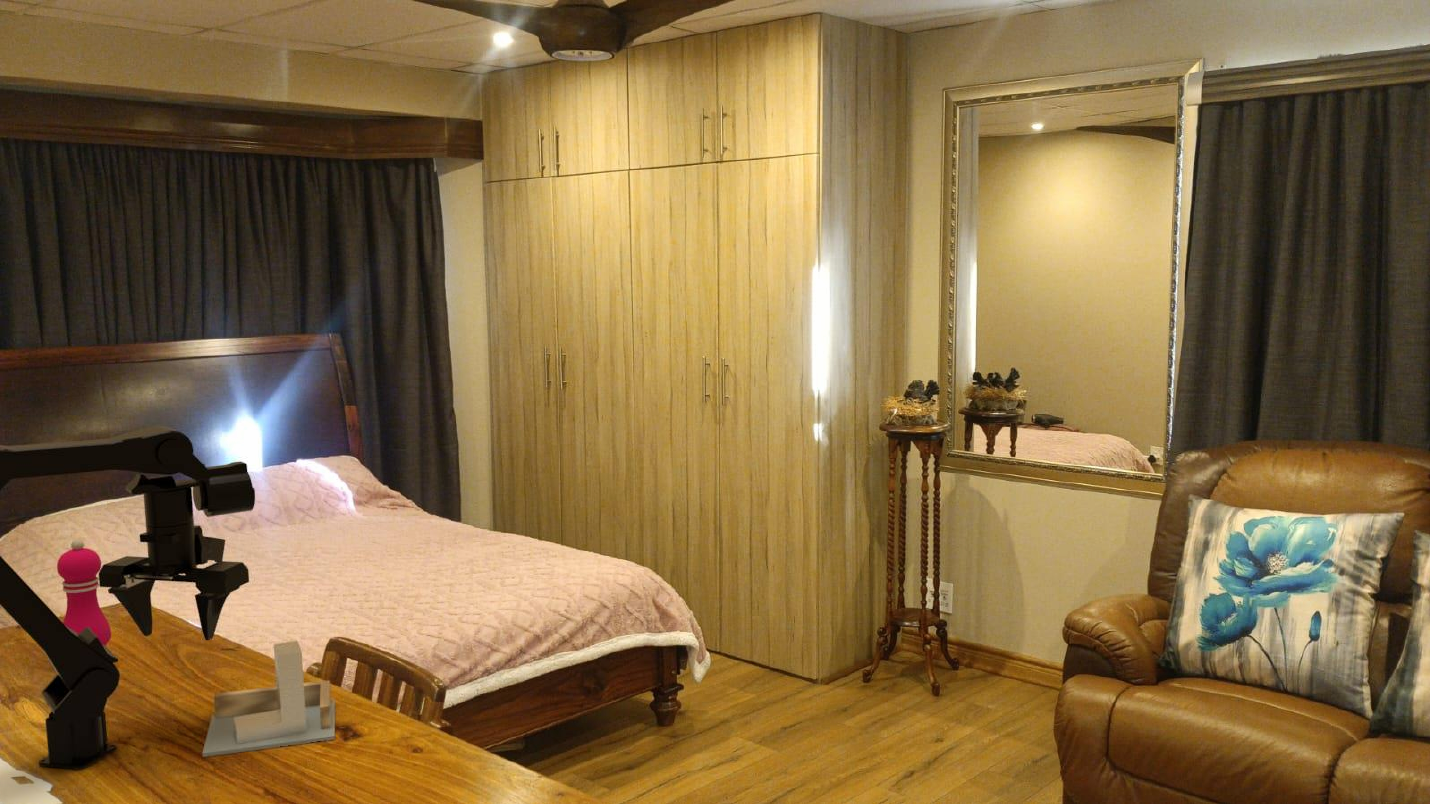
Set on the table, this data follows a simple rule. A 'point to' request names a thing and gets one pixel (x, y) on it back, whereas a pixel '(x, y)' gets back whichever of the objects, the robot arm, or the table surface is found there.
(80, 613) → the pepper mill
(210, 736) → the slate board
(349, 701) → the table surface
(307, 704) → the board walls
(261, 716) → the bracket
